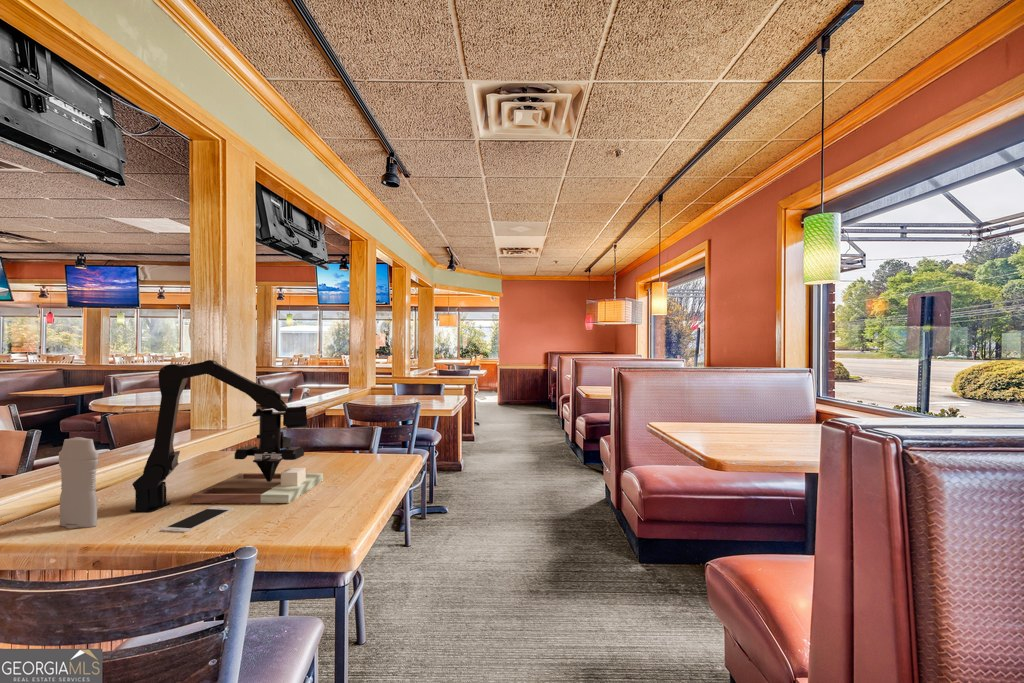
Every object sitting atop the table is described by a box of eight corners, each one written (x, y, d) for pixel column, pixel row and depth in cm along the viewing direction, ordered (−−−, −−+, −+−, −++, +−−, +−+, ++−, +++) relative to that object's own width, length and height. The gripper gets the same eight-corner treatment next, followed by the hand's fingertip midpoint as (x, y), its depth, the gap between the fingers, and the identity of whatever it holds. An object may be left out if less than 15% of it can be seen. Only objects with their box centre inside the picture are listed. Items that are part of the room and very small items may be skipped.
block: (297, 486, 130) (297, 472, 130) (280, 486, 130) (280, 472, 130) (305, 480, 135) (305, 467, 135) (289, 480, 135) (289, 467, 135)
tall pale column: (50, 528, 107) (50, 438, 107) (68, 521, 111) (68, 435, 111) (88, 529, 106) (88, 439, 106) (105, 522, 110) (105, 435, 110)
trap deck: (288, 503, 122) (288, 494, 122) (191, 503, 123) (191, 494, 123) (323, 480, 143) (323, 473, 143) (239, 480, 144) (239, 473, 144)
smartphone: (235, 510, 119) (235, 506, 119) (186, 534, 104) (186, 530, 104) (212, 509, 120) (212, 505, 120) (159, 533, 105) (159, 529, 105)
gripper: (313, 425, 141) (312, 474, 141) (256, 425, 142) (255, 473, 141) (294, 432, 130) (294, 484, 130) (233, 431, 130) (232, 483, 130)
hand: (269, 481), depth 133 cm, fingers closed
